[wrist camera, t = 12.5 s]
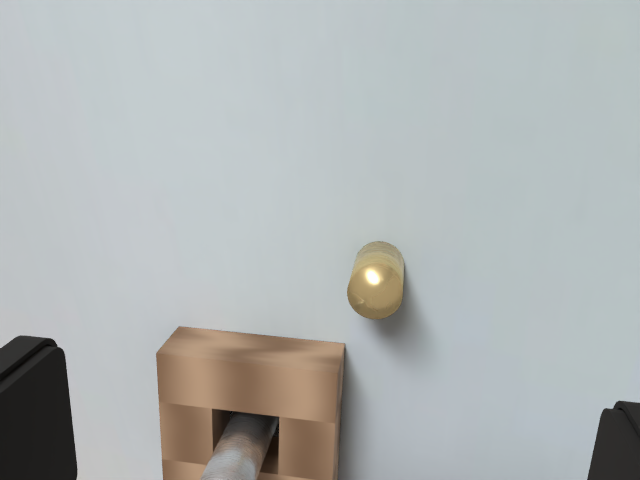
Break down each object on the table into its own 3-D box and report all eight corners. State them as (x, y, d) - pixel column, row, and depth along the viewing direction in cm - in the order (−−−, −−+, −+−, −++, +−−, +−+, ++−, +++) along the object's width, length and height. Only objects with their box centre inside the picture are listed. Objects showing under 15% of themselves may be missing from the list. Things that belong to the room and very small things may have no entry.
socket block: (344, 343, 41) (337, 373, 37) (337, 486, 45) (330, 526, 41) (178, 326, 43) (156, 353, 39) (184, 465, 46) (164, 502, 43)
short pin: (405, 243, 38) (404, 270, 34) (402, 289, 39) (400, 321, 35) (356, 239, 39) (348, 265, 34) (354, 285, 40) (345, 316, 35)
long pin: (281, 391, 43) (233, 512, 32) (281, 429, 44) (234, 559, 33) (238, 386, 44) (176, 504, 32) (239, 424, 45) (178, 550, 33)
